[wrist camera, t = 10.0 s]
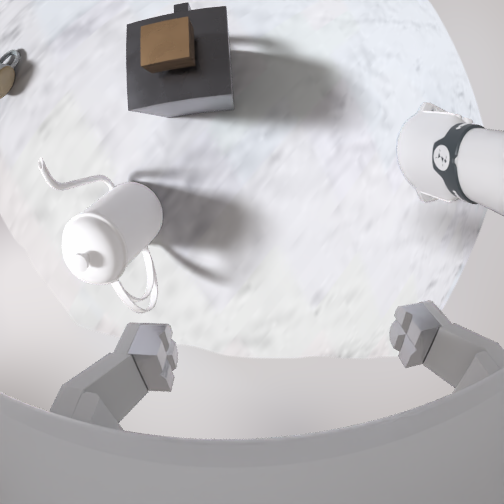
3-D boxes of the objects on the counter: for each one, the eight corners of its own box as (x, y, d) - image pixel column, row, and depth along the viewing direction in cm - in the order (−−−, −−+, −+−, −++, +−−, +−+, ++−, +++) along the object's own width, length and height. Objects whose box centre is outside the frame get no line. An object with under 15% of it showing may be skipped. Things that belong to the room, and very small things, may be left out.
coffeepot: (127, 128, 37) (59, 131, 19) (193, 261, 47) (172, 334, 29) (77, 161, 38) (4, 186, 21) (142, 282, 48) (106, 353, 31)
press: (228, 32, 31) (225, -17, 17) (234, 109, 37) (231, 94, 22) (164, 42, 31) (128, 2, 16) (168, 117, 37) (128, 110, 22)
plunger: (219, 57, 32) (205, 1, 14) (221, 99, 35) (208, 69, 17) (172, 63, 32) (125, 18, 14) (175, 105, 35) (125, 85, 17)
